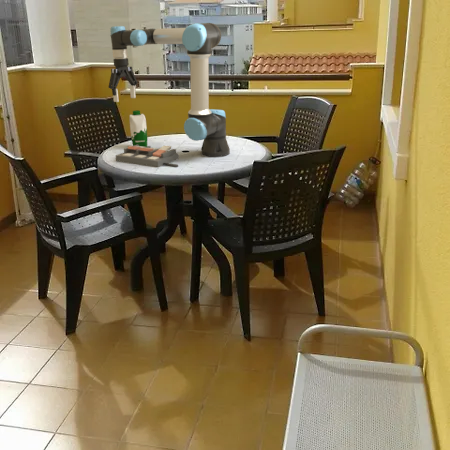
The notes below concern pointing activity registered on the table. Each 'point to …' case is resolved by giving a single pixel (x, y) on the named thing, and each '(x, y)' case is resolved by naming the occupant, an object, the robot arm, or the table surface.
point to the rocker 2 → (161, 151)
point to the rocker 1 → (135, 147)
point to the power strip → (147, 157)
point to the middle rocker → (148, 149)
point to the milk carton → (138, 129)
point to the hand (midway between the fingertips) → (124, 99)
